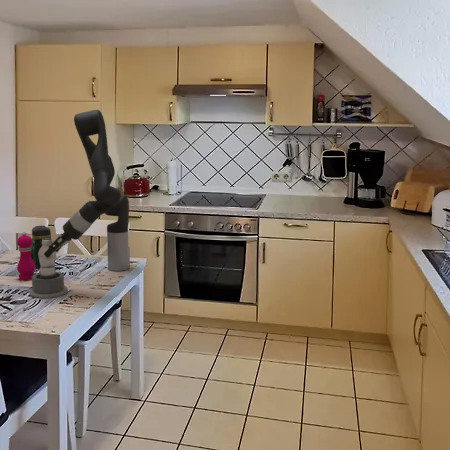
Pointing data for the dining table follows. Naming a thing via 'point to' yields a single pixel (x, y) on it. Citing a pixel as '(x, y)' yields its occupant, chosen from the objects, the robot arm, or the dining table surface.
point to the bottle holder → (48, 286)
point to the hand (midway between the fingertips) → (50, 253)
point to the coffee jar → (39, 241)
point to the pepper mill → (25, 258)
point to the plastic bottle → (47, 261)
